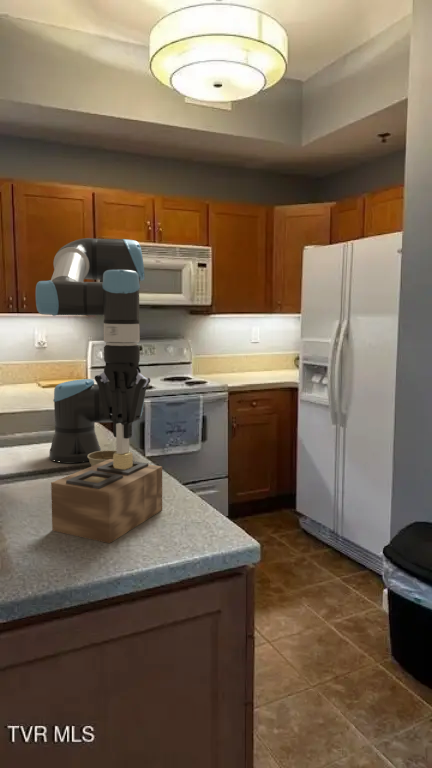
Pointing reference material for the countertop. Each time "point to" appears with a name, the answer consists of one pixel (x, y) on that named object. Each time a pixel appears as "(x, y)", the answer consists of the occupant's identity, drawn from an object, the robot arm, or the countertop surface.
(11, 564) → the countertop surface
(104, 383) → the robot arm
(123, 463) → the peg
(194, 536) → the countertop surface
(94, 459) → the flower pot
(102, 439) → the countertop surface
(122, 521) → the socket block
